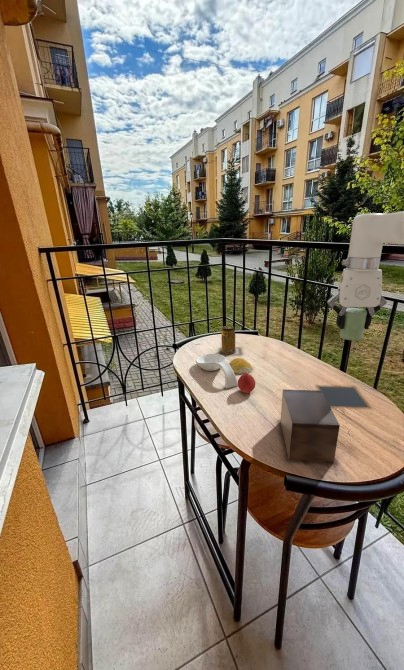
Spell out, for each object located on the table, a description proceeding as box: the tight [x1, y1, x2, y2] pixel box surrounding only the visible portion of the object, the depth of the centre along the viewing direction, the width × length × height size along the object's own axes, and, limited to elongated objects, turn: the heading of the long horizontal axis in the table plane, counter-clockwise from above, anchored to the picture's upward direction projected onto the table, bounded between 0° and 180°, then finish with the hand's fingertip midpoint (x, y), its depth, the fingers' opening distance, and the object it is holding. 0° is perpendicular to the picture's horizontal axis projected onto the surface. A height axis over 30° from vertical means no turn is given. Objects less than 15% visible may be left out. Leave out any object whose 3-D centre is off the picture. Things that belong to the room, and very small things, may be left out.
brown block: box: [279, 389, 341, 464], centre depth 69 cm, size 10×14×11 cm
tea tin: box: [339, 307, 367, 342], centre depth 80 cm, size 6×6×8 cm
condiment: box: [221, 325, 236, 355], centre depth 123 cm, size 7×8×12 cm
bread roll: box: [228, 357, 252, 375], centre depth 109 cm, size 8×9×4 cm
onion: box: [237, 372, 256, 394], centre depth 92 cm, size 6×6×8 cm
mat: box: [319, 386, 368, 408], centre depth 89 cm, size 11×11×1 cm
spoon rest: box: [195, 353, 238, 389], centre depth 106 cm, size 24×12×7 cm, turn 24°
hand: (352, 327), depth 81 cm, fingers closed on tea tin, 6 cm apart
